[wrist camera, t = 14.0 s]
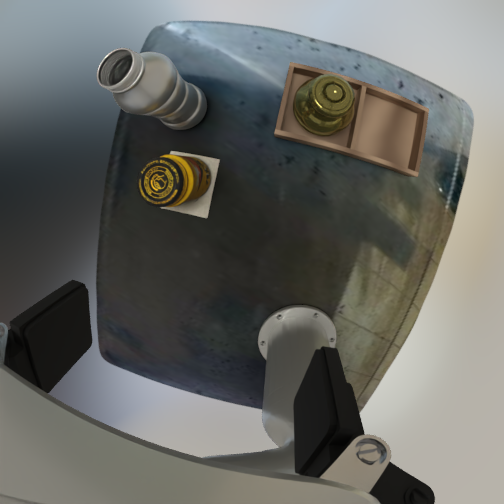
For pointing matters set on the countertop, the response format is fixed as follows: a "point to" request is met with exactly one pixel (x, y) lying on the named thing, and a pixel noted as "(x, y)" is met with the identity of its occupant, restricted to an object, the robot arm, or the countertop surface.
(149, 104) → the plastic bottle
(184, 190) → the condiment
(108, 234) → the countertop surface
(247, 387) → the countertop surface
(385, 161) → the caddy
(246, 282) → the countertop surface
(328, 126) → the brass weight
